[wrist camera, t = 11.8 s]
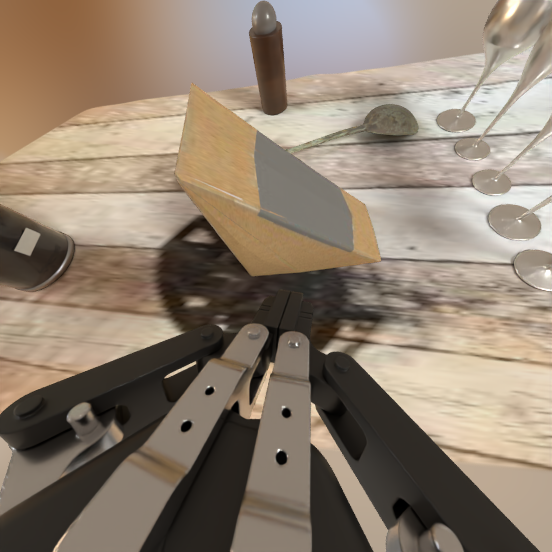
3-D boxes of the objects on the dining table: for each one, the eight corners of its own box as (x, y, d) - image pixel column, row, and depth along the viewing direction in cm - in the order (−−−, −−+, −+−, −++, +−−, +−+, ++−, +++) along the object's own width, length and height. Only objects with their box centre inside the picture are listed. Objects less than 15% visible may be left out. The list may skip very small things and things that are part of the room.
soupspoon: (423, 142, 28) (402, 117, 31) (438, 115, 25) (413, 89, 28) (273, 179, 28) (265, 151, 31) (270, 157, 25) (261, 127, 28)
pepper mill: (260, 115, 34) (240, 13, 24) (265, 99, 36) (249, -5, 25) (284, 114, 33) (275, 8, 23) (289, 98, 35) (282, -10, 24)
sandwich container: (383, 263, 22) (516, 116, 8) (250, 278, 24) (170, 178, 10) (365, 202, 25) (440, 19, 11) (249, 219, 27) (187, 78, 13)
